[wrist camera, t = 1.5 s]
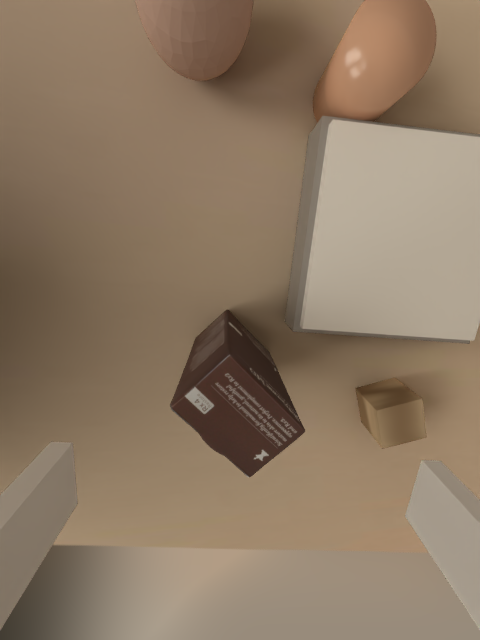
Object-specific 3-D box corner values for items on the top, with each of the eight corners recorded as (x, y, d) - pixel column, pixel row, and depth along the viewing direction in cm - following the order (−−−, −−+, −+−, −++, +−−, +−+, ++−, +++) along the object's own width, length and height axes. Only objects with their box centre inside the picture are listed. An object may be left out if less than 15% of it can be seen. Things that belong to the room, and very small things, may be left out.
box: (272, 349, 25) (310, 434, 14) (237, 380, 26) (244, 485, 14) (228, 303, 24) (229, 353, 12) (192, 336, 25) (161, 413, 13)
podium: (284, 321, 25) (295, 334, 21) (308, 135, 21) (326, 109, 17) (440, 332, 26) (478, 347, 22) (489, 156, 22) (545, 136, 18)
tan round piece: (308, 135, 21) (339, 92, 15) (318, 58, 20) (355, -21, 14) (370, 142, 21) (423, 102, 16) (383, 67, 20) (446, -8, 14)
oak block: (361, 421, 28) (382, 448, 24) (355, 387, 27) (376, 410, 23) (398, 411, 28) (426, 437, 24) (394, 377, 27) (422, 398, 23)
